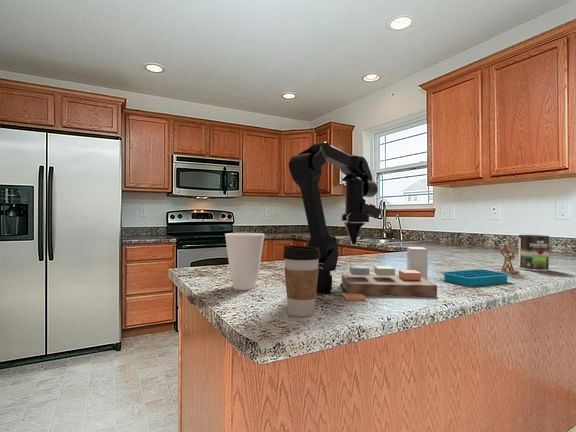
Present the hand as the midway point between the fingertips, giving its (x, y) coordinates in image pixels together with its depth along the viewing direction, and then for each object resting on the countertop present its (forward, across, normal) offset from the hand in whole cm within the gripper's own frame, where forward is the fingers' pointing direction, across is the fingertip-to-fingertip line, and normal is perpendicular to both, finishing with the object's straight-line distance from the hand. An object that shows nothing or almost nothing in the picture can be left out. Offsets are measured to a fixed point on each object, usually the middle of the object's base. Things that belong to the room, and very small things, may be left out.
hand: (353, 243), depth 109 cm
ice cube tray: (+13, +5, -42) cm, 44 cm away
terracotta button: (+9, -8, -15) cm, 20 cm away
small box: (+13, +10, -24) cm, 29 cm away
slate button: (+8, -8, 0) cm, 12 cm away
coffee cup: (+13, -35, +17) cm, 41 cm away
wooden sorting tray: (+12, -10, -8) cm, 18 cm away
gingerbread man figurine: (+13, +22, -62) cm, 67 cm away
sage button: (+8, -8, -8) cm, 14 cm away
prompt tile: (+12, -21, +3) cm, 25 cm away
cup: (+13, -10, +34) cm, 38 cm away
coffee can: (+13, +33, -79) cm, 86 cm away
